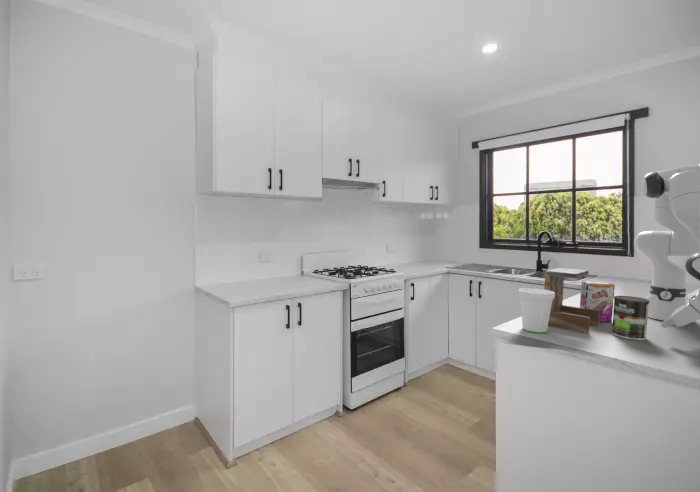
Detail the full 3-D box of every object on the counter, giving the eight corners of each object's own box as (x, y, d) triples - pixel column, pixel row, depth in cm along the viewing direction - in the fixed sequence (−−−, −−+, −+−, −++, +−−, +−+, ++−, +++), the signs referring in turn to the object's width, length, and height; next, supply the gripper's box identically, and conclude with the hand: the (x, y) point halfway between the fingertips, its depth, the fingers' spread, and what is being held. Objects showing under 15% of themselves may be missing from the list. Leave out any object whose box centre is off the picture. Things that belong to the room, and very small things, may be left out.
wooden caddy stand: (557, 317, 160) (559, 267, 159) (599, 325, 149) (602, 271, 147) (542, 324, 148) (545, 270, 146) (587, 333, 136) (591, 275, 135)
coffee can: (635, 341, 128) (638, 302, 127) (605, 333, 137) (607, 296, 136) (652, 338, 132) (655, 300, 131) (622, 330, 141) (624, 294, 140)
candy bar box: (584, 321, 154) (587, 283, 153) (578, 318, 159) (580, 281, 158) (612, 322, 152) (615, 284, 151) (605, 319, 157) (608, 282, 156)
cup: (548, 327, 143) (551, 289, 142) (556, 336, 132) (558, 295, 131) (514, 324, 147) (516, 287, 146) (518, 333, 135) (520, 292, 134)
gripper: (697, 291, 128) (658, 313, 136) (692, 299, 114) (650, 323, 122) (713, 306, 125) (673, 327, 133) (711, 316, 111) (667, 339, 119)
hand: (662, 325), depth 127 cm, fingers closed
